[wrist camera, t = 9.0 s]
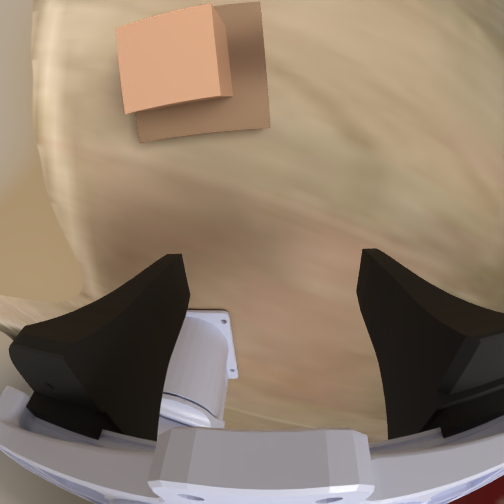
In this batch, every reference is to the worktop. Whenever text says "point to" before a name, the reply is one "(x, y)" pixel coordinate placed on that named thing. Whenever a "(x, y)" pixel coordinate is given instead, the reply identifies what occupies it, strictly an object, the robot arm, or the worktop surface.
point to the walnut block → (243, 86)
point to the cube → (174, 59)
